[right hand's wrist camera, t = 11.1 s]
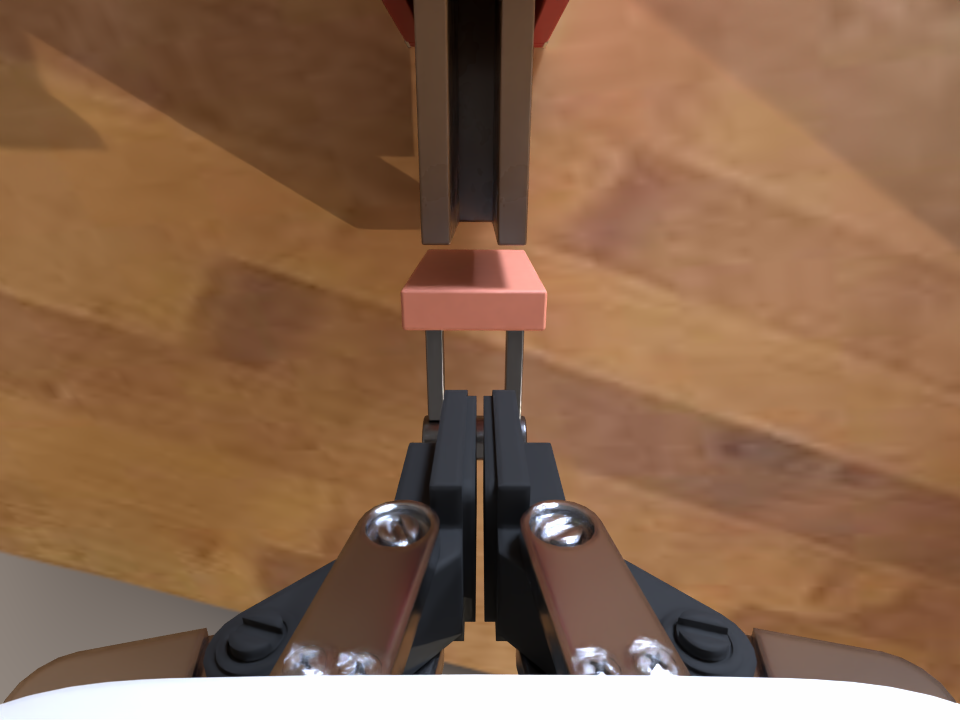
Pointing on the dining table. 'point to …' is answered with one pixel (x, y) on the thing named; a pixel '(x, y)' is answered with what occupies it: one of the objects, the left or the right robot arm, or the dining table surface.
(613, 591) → the right robot arm
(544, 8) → the cabinet
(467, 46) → the drawer
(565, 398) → the dining table surface
